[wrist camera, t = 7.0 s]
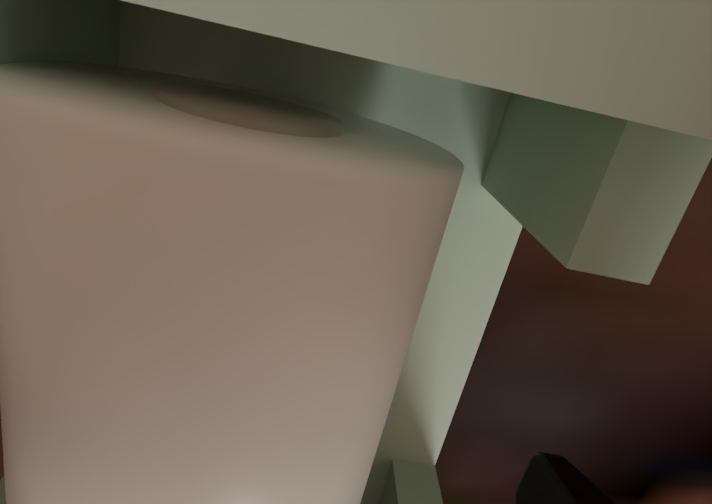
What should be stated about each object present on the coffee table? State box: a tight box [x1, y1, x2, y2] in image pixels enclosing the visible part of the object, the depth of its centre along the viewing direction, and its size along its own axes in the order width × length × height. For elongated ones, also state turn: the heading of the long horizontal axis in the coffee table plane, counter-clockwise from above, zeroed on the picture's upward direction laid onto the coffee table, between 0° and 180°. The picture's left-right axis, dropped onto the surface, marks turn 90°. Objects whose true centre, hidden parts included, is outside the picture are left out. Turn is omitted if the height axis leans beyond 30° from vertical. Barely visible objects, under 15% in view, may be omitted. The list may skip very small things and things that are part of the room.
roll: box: [0, 62, 464, 504], centre depth 8 cm, size 9×6×6 cm, turn 167°
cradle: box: [0, 0, 712, 504], centre depth 9 cm, size 13×9×6 cm
